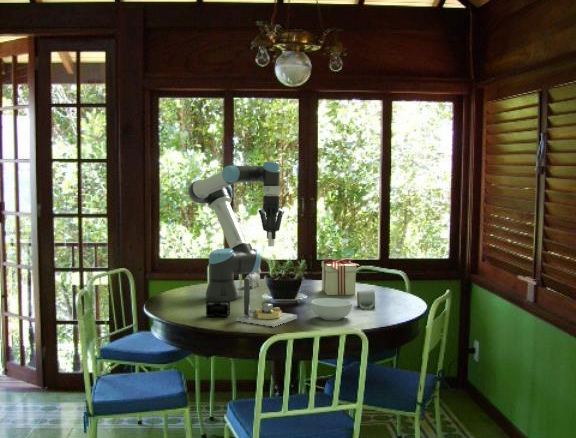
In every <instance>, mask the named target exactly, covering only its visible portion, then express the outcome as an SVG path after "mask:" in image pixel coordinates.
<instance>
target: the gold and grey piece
mask: <svg viewBox="0 0 576 438" xmlns="http://www.w3.org/2000/svg"><path fill="white" fill-rule="evenodd" d="M250 286H251V285H250V278H246V277H245V278H243V316H244V315H249V314H253V316H254V317H256V318H259V319H274V318H279V317H281V316H282V313H283V310H281V307H278V306H276V307H273V310H269V313H263V312H262V305H261V306H259V308H256V309H251V305H250V304H251V302H250V301H251V300H250V299H251V297H250V295H251V294H250V293H251V292H250V291H251V289H250V288H251V287H250Z"/></svg>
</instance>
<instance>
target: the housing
mask: <svg viewBox="0 0 576 438" xmlns="http://www.w3.org/2000/svg"><path fill="white" fill-rule="evenodd" d="M261 306H262V312H263V313H269V310H273V308H274V305H273V303H267V302H266V303H262V304H261ZM297 319H298V315H297V314H293V313H286V312H282V316H281V317H279V318H274V319H259V318H256V317H254V316H253V314H249V315H244V314H243V315H242V316H239V317H237V318H236V322H237V321H241V322H240V323H243V322H247V323H246V324H250V323H253V324H252V325H256V324H259V325H258V326H263V325H265V327H269V326H272V327H271V328H276V327H278V325H279V326H281V325H283V323H284V324H287V323H290V322H291V321H294V320H297ZM280 324H281V325H280ZM275 326H276V327H275Z"/></svg>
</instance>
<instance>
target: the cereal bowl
mask: <svg viewBox="0 0 576 438" xmlns="http://www.w3.org/2000/svg"><path fill="white" fill-rule="evenodd" d="M310 304H311V311H312V312H313V313H314V315H316V316H317V317H320V318H321V319H323V320H325V321H338V320H341V319H342V318H345V317H347V316H349V315H350V313H351V311H352V306H353V302H352V301H350V300H348V299H345V298H338V297H337V298H336V297H335V298H334V297H323V298H316V299H312V301H311V303H310Z"/></svg>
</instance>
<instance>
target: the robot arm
mask: <svg viewBox="0 0 576 438" xmlns="http://www.w3.org/2000/svg"><path fill="white" fill-rule="evenodd" d="M280 169H281V168H280V163H279V161H264V162H263V164H262V165H227V166H225V167H224V168H223V170H222V171H220V172H217V173H215V174H213V175H211V176H209V177H207V178H204V179H197V180H195V181H193V182H192V183H190V184H189V186H188V189H187V190H188V191H187V192H188V196H189V198H190V199H191V200H192V201H193V202H194V203H197V204H208V206H209V208H210V210H212V211H214V213H215V215H216V217H217V219H218V220H217V221H218V222H219V225H220V227H221V230H222V232H223V235H224V237H225V240H226V242H227V244H228V246H229V247H228V248H220V249H214V250H212V251H211V252H210V253H209V255H208V285H207V289H206V292H205V299H206V301H230V302H231V301H234V300H237V299H238V292H237V289H236V286H235V283H234V280H235V279H234V278H235V277H234V276H237V275H240V276H241V275H247V274H248V275H249V274H251V273H254V272H256V271H257V270H258V269H259V267H260V268H261V262H262V256H261V253H260V251H259V250H258V249H256V248H253V247H252V244H251V243H250V242H248V241H246V238H245V235H244V234H243V231H242V229H241V226H240V224H239V222H238V218H237V217H236V214H235V213H234V210H233V208H232V205H231V203H232V200H233V197H234V194H233V188H232V185H234V184H235V185H236V184H237V183H253V182H254V183H262V186H263V187H262V191H263V192H262V194H263V196H262V203H263V206H262V208H261V209H258V213H259V215H260V221H261V227H262V229H263V231H265V232H266V239H267V240H268V244H267V246H268V247H275V239H276V232H279V231H280V229H281V224H282V219H283V215H284V213H285V211H284V210H282V209H281V208H280V196H279V195H280V172H281V170H280Z"/></svg>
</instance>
